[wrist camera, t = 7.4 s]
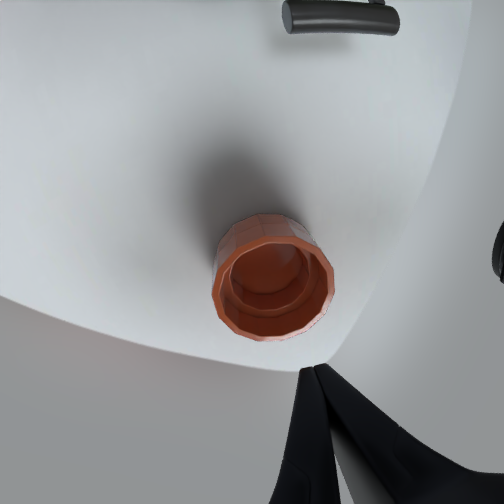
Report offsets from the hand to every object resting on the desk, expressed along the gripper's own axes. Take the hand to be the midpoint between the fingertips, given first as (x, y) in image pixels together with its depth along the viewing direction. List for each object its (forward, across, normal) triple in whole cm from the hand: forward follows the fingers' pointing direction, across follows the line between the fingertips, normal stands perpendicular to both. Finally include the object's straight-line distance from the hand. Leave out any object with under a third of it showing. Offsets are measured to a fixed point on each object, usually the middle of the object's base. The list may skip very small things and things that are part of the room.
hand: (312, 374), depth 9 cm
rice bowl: (+11, 0, +1) cm, 11 cm away
